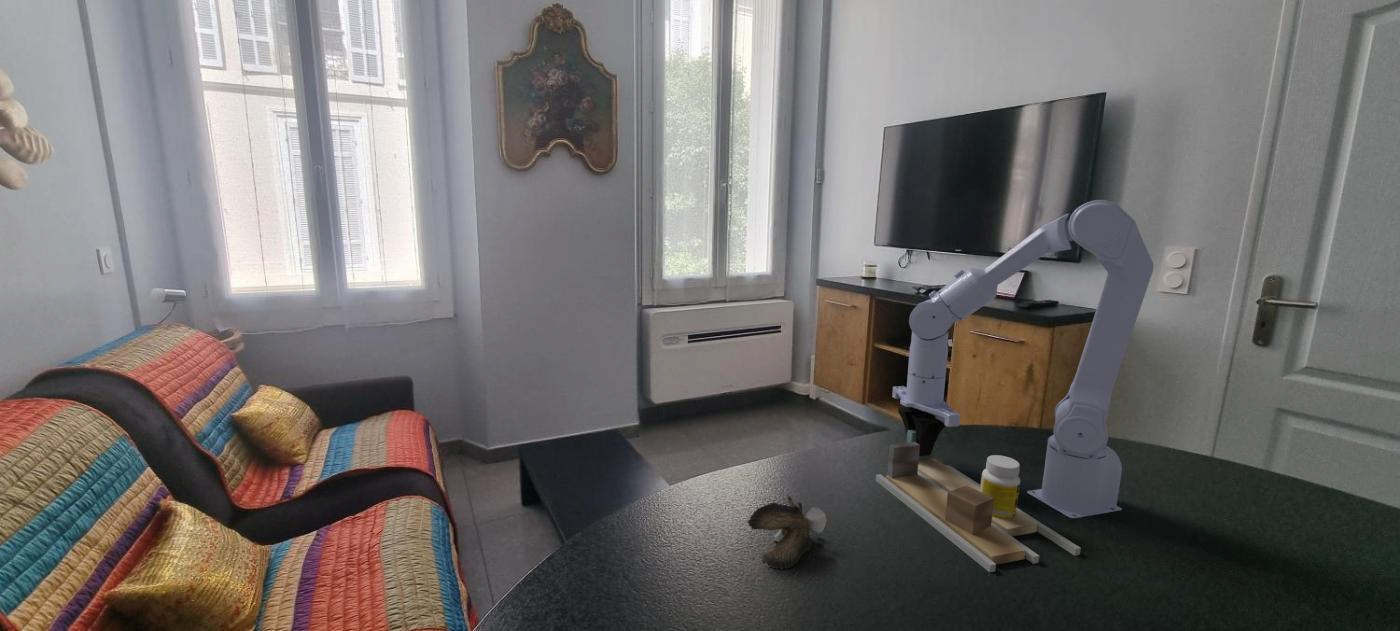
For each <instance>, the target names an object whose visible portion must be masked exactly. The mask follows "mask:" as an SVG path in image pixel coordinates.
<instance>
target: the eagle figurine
mask: <svg viewBox="0 0 1400 631" xmlns="http://www.w3.org/2000/svg"><path fill="white" fill-rule="evenodd" d="M786 499H787V502H788V504H789V505H787V504H781V503H778V502H771V503H767V504H765V505H763V506H761V507H759V508H757V509H756V510H755V511H754V512H753V513H752V515H750V517H749V520H747V524H748V527H750V528H751V529H752V530H765V531H776V530H779V531H778V532H777V533H776V534H775V535H774V539H773V542H774V541H775V542H777V543H776V544H775V545H774V546H772V548H770V549H769V550H767V551H766V552H764V553H763V554H761V558H762V559H761V562H763V561H764V562H765V563H767V564H768V566H770V567H772V569H773V568H776V569H780V570H783V569H790V568H791V567H793V566H795V565H796V564H797V563H798V562H799V560H800V559H801V558H802V557H803V555H804V554H805V553H806V552H807V551H809V550H811V546H812V543H813V542H812V538H811V535H810V531H811V532H813V533H817V534H821V533H822V532H824V530H825V526H826V525H827V515H826V513H825V512H824V511H823V510H822V509H820V508H819V507H815V506H812V507H811V508H810V509H809V510H808V511H807V513H806V514H803V503H801V502H797V505H796V504H795V503H794V502H793V499H792V498H791V495H789V494H788V495H787V496H786ZM764 562H763V563H764ZM776 569H775V570H776Z"/></svg>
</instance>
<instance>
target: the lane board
mask: <svg viewBox="0 0 1400 631" xmlns="http://www.w3.org/2000/svg"><path fill="white" fill-rule="evenodd" d="M946 466H947V467H949V468H950V469H952V470H953V471H955V472H957V473H958V474H960V475H961V476H963V477H964V478H966V479H968V480H969V481H971V482H972V483H974V484H975V485H977V486H979V487H980V484H981V483H978V482H977V481H975V480H974V479H972V478H970V477H968V476H967V475H966V474H964V473H962V472H961V471H959V470H957V469H956V468H954V467H953V466H951V465H946ZM917 474H918V475H919V476H921V477H922V478H924V479H925V480H927V481H928V482H929V483H931V484H932V485H934V486H935V487H937V488H938V489H939V490H941V491H942V492H944V493H945V494H946V495H948V492H947V491H946V490H944V489H943V488H941V487H940V486H938V485H937V484H935V483H934V482H933V481H931V480H930V479H928V478H927V477H925V476H924V475H922V474H921V473H920V472H918V473H917ZM875 482H877V483H878V484H880V485H881V486H882V487H883V488H885V489H886V490H887V491H888V492H889V493H891V495H893V496H894V497H896V498H897V499H898V500H900V502H902V503H903V504H904V505H906V506H907V507H908V508H909V509H911V510H912V511H913V512H914V513H915V514H917V515H918V516H919V517H920V518H922V519H923V520H924V521H925V522H926V523H928V524H929V525H930V526H931V527H933V528H934V529H935V530H937V532H939V533H940V534H942V535H943V536H944V537H945V538H946V539H948V540H949V541H950V542H951V543H953V545H955V546H956V547H958V548H959V549H960V550H961V551H962V552H963V553H965V554H966V555H967V556H968V557H970V558H971V559H973V561H975V562H977V564H979V565H980V566H982V568H983V569H985V570H986V571H987V572H988V573H994V572H996V569H997V568H996V567H997V564H995V563H994V562H993V561H991V560H990V559H989V558H988V557H986V556H985V555H984V554H982V553H981V552H980V551H979V550H977V549H976V548H975V547H973V546H972V545H971V544H970V543H968V542H967V541H966V540H964V539H963V538H962V537H961V536H959V535H958V534H957V533H955V532H954V531H953V530H952V529H950V528H949V527H948V526H946V525H945V524H944V523H943V522H941V521H940V520H939V519H938V518H936V517H935V516H934V515H932V514H931V513H930V512H929V511H927V510H926V509H925V508H923V507H922V506H921V505H920V504H918V503H917V502H916V501H914V500H913V499H912V498H911V497H909V496H908V495H907V494H905V493H904V492H903V491H902V490H900V489H899V488H898V487H896V486H895V485H894V484H893V483H891V482H890V481H889V480H887V479H886V476H884V475H882V474H881V473H879V474H876V475H875ZM1016 510H1017V511H1018V512H1020V513H1021V514H1023V515H1024V516H1026V517H1028V518H1029V519H1031V520H1032V521H1034V522H1035V523H1037V532H1036V533H1039V534H1040V535H1042V536H1043V537H1045V538H1047V539H1048V540H1049V541H1052V542H1053V543H1054V544H1056V545H1057V546H1059V547H1060V548H1062V549H1064V550H1065V551H1067V552H1068V553H1070V554H1071V555H1073V556H1074V557H1075V556H1080V555H1081V547H1080V546H1079V545H1077V544H1075V543H1073V542H1072V541H1071V540H1069V539H1068V538H1066V537H1064V536H1063V535H1061V534H1059V533H1058V532H1056V531H1054V530H1053V529H1051V528H1050V527H1048V526H1047V525H1045V524H1043V522H1040V521H1039V520H1037V519H1036V518H1034V517H1032V516H1031V515H1029V514H1028V513H1026V512H1025V511H1023V510H1021V509H1020V508H1018V507H1017V508H1016ZM991 526H992V527H993V528H995V529H996V530H998V531H999V532H1001V533H1002V534H1003V535H1005V536H1006V537H1008V538H1009V539H1010V540H1012V541H1013V542H1015V543H1016V544H1018V545H1019V546H1020V547H1022V548H1023V549H1025V550H1026V552H1025V560H1027V561H1028V562H1030V563H1032V565H1034V564H1038V563H1039V561H1040V554H1037V553H1036V552H1035V551H1033V550H1032V549H1031V548H1029V547H1028V546H1026V545H1025V544H1023V543H1022V542H1020V541H1019V540H1017V539H1016V538H1015V537H1014V536H1010V535H1009V534H1007V533H1006V532H1005V531H1003V530H1002V529H1000V528H999V527H997V526H996V525H994V524H993V523H991Z"/></svg>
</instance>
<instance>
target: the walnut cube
mask: <svg viewBox="0 0 1400 631" xmlns="http://www.w3.org/2000/svg"><path fill="white" fill-rule="evenodd" d="M993 505H994V498H993V497H991V496H989V495H986V494H984V493H982V492H980V491H978V490H976V489H973V488H971V487H969V486H967V485H966V486H964V487H961V488H958V489H956V490H953V491H950V492H948V495H947V505H946V516H945V520H946V521H948V522H950V523H951V524H953V525H955V526H957V527H959V528H961V529H963V530H965V531H966V532H968V533H970V534H972V535H973V534H975V533H977V532H979V531H981V530H984V529H986V528H988V527H990V526H991V523H992V514H993Z"/></svg>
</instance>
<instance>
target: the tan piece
mask: <svg viewBox="0 0 1400 631" xmlns="http://www.w3.org/2000/svg"><path fill="white" fill-rule="evenodd" d="M910 442H916V443H917V434H916V429H915V430H908V431H907V434H906V443H910ZM935 445H936V443H935V444H934V447H933V449H932V452H931V454H930V455H929V456H919V461H918V472H920V473H921V474H922V475H924V476H925V477H927V478H928V479H930V480H931V481H933V482H934V483H935V484H937V485H938V486H940V487H941V488H943V489H944V490H946V491H947V492H950V491H953V490H956V489H958V488H961V487H964V486H966V485H967V486H969V487H971V488H973V489H976V490H978V491H980V487H979V486H977V485H975V484H974V483H972V482H971V481H969V480H968V479H966V478H964V477H963V476H961V475H960V474H958V473H957V472H955V471H953V470H952V469H950V468H949V467H947V465H946V464H944V463H942V462H941V461H939V460H937V459H936V458H934V457H935V447H936V446H935ZM992 523H993V524H994V525H996V526H997V527H999V528H1000V529H1002V530H1003V531H1005V532H1006V533H1007V534H1009V535H1010V536H1012V537H1015V536H1022V535H1028V534H1033V533H1038V532H1037V523H1035V522H1034V521H1032V520H1031V519H1029V518H1028V517H1026V516H1024V515H1023V514H1021V513H1020V512H1018V511H1017V510H1016V514H1015V516H1014V517H1012V518H997V517H993V516H992Z"/></svg>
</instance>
